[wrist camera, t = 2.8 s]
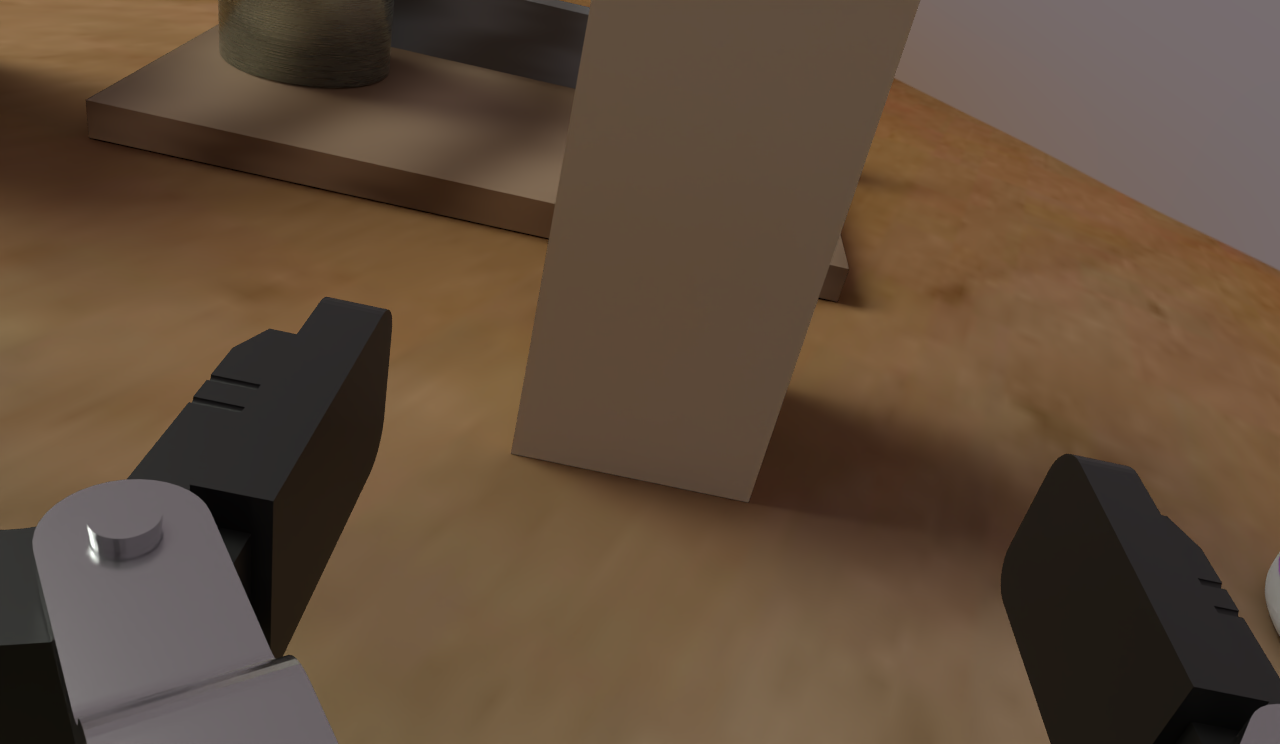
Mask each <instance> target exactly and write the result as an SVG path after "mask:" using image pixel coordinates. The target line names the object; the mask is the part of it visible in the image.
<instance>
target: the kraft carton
mask: <svg viewBox="0 0 1280 744" xmlns="http://www.w3.org/2000/svg"><path fill="white" fill-rule="evenodd" d="M919 3H920V0H591V4H590V10H589V16H588V21H587V27H586V33H585V38H584V44H583V50H582V55H581V61H580V67H579V72H578V78H577V84H576V89H575V95H574V100H573V106H572V112H571V117H570V123H569V129H568V134H567V140H566V146H565V151H564V157H563V163H562V168H561V174H560V179H559V185H558V191H557V196H556V202H555V208H554V213H553V219H552V225H551V230H550V236H549V242H548V247H547V253H546V259H545V264H544V270H543V275H542V281H541V287H540V292H539V298H538V304H537V309H536V315H535V321H534V326H533V332H532V338H531V343H530V349H529V354H528V360H527V366H526V371H525V377H524V383H523V388H522V394H521V400H520V405H519V411H518V417H517V422H516V428H515V434H514V439H513V445H512V450H511V454H516V455H521V456H526V457H530V458H535V459H540V460H545V461H550V462H555V463H559V464H564V465H569V466H574V467H579V468H584V469H589V470H593V471H598V472H603V473H608V474H613V475H618V476H622V477H627V478H632V479H637V480H642V481H647V482H651V483H656V484H661V485H666V486H671V487H676V488H680V489H685V490H690V491H695V492H700V493H705V494H709V495H714V496H719V497H724V498H729V499H734V500H739V501H743V502H749V499H750V496H751V493H752V491H753V488H754V485H755V482H756V479H757V476H758V473H759V470H760V467H761V464H762V461H763V458H764V455H765V453H766V450H767V447H768V444H769V441H770V438H771V435H772V432H773V429H774V426H775V423H776V420H777V417H778V415H779V412H780V409H781V406H782V403H783V400H784V397H785V394H786V391H787V388H788V385H789V382H790V380H791V377H792V374H793V371H794V368H795V365H796V362H797V359H798V356H799V353H800V350H801V347H802V344H803V342H804V339H805V336H806V333H807V330H808V327H809V324H810V321H811V318H812V315H813V312H814V309H815V307H816V304H817V301H818V298H819V295H820V292H821V289H822V286H823V283H824V280H825V277H826V274H827V271H828V269H829V266H830V263H831V260H832V257H833V254H834V251H835V248H836V245H837V242H838V239H839V236H840V234H841V231H842V228H843V225H844V222H845V219H846V216H847V213H848V210H849V207H850V204H851V201H852V198H853V196H854V193H855V190H856V187H857V184H858V181H859V178H860V175H861V172H862V169H863V166H864V163H865V161H866V158H867V155H868V152H869V149H870V146H871V143H872V140H873V137H874V134H875V131H876V128H877V125H878V123H879V120H880V117H881V114H882V111H883V108H884V105H885V102H886V99H887V96H888V93H889V90H890V87H891V85H892V82H893V79H894V76H895V73H896V70H897V67H898V64H899V61H900V58H901V55H902V52H903V50H904V47H905V44H906V41H907V38H908V35H909V32H910V29H911V26H912V23H913V20H914V17H915V14H916V11H917V9H918V6H919Z"/></svg>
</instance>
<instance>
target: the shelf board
mask: <svg viewBox="0 0 1280 744" xmlns="http://www.w3.org/2000/svg"><path fill="white" fill-rule="evenodd" d="M589 10H590V8H589V7H585V6H581V5H576V4H572V3H568V2H564V1H559V0H394V10H393V25H392V39H391V53H390V68H389V73H388V75H387V76H386V77H385V78H384V79H382V80H380V81H378V82H375V83H372V84H368V85H363V86H356V87H343V88H324V87H310V86H300V85H293V84H287V83H282V82H277V81H273V80H268V79H265V78H261V77H258V76H255V75H252V74H249V73H246V72H244V71H242V70H239V69H237V68H235V67H233V66H232V65H230V64H229V63H227V62H226V61H225V60H224V59H223V58H222V57H221V55H220V52H219V24H218V25H216V26H215V27H213V28H211V29H209V30H208V31H206V32H204V33H202V34H201V35H199V36H197V37H195V38H194V39H192V40H190V41H188V42H187V43H185V44H183V45H181V46H179V47H178V48H176V49H174V50H172V51H171V52H169V53H167V54H165V55H164V56H162V57H160V58H158V59H157V60H155V61H153V62H151V63H150V64H148V65H146V66H144V67H143V68H141V69H139V70H137V71H136V72H134V73H132V74H130V75H129V76H127V77H125V78H123V79H122V80H120V81H118V82H116V83H115V84H113V85H111V86H109V87H108V88H106V89H104V90H102V91H101V92H99V93H97V94H95V95H94V96H92V97H90V98H88V99H87V100H86V108H87V121H88V134H89V138H94V139H99V140H103V141H108V142H112V143H117V144H121V145H126V146H130V147H135V148H140V149H144V150H149V151H153V152H158V153H162V154H167V155H171V156H176V157H181V158H185V159H190V160H194V161H199V162H203V163H208V164H212V165H217V166H222V167H226V168H231V169H235V170H240V171H244V172H249V173H253V174H258V175H262V176H267V177H272V178H276V179H281V180H285V181H290V182H294V183H299V184H303V185H308V186H313V187H317V188H322V189H326V190H331V191H335V192H340V193H344V194H349V195H354V196H358V197H363V198H367V199H372V200H376V201H381V202H385V203H390V204H395V205H399V206H404V207H408V208H413V209H417V210H422V211H426V212H431V213H435V214H440V215H445V216H449V217H454V218H458V219H463V220H467V221H472V222H476V223H481V224H486V225H490V226H495V227H499V228H504V229H508V230H513V231H517V232H522V233H527V234H531V235H536V236H540V237H545V238H549V236H550V230H551V225H552V219H553V213H554V208H555V202H556V196H557V191H558V185H559V179H560V174H561V168H562V163H563V157H564V151H565V146H566V140H567V134H568V129H569V123H570V117H571V112H572V106H573V100H574V95H575V89H576V84H577V78H578V72H579V67H580V61H581V55H582V50H583V44H584V38H585V33H586V27H587V21H588V16H589ZM848 271H849V267H848V263H847V259H846V255H845V251H844V247H843V243H842V239H841V235H840V236H839V239H838V242H837V245H836V248H835V251H834V254H833V257H832V260H831V263H830V266H829V269H828V271H827V274H826V277H825V280H824V283H823V286H822V289H821V292H820V295H819V298H823V299H827V300H832V301H836V302H838V299H839V296H840V293H841V290H842V288H843V285H844V282H845V279H846V276H847V274H848Z"/></svg>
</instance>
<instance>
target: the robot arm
mask: <svg viewBox="0 0 1280 744" xmlns="http://www.w3.org/2000/svg"><path fill="white" fill-rule="evenodd" d="M391 333H392V315H391V312H390V310H387V309H382V308H378V307H373V306H368V305H363V304H359V303H354V302H349V301H344V300H339V299H335V298H330V297H325V298H323V299H322V300H321V301H320V303H319V304H318V305H317V307H316V308H315V310H314V311H313V312H312V314H311V315H310V317H309V318H308V319H307V321H306V322H305V324H304V325H303V326H302V328H301V329H300V331H299V332H298V333H297V334H292V333H288V332H283V331H278V330H273V329H268V330H266V331H264V332H262V333H260V334H258V335H257V336H255V337H253V338H251V339H249V340H247V341H245V342H243V343H241V344H239V345H237V346H235V347H233V348H232V349H231V351H230V352H229V353H228V354H227V356H226V357H225V358H224V359H223V360H222V362H221V363H220V364H219V365H218V367H217V368H216V369H215V370H214V372H213V373H212V374H211V379H210V380H206V382H205V383H204V384H203V385H202V387H201V388H200V389H199V390H198V392H197V393H196V394H195V395H194V397H193V401H192V403H190V402H189V403H188V404H187V405H186V406H185V408H184V409H183V410H182V411H181V413H180V414H179V415H178V416H177V418H176V419H175V420H174V421H173V423H172V424H171V425H170V426H169V428H168V429H167V430H166V431H165V433H164V434H163V435H162V436H161V438H160V439H159V440H158V441H157V442H156V444H155V445H154V446H153V447H152V449H151V450H150V451H149V452H148V454H147V455H146V456H145V457H144V459H143V460H142V461H141V462H140V464H139V465H138V466H137V467H136V469H135V470H134V471H133V472H132V474H131V475H130V476H129V477H128V479H127V480H119V481H112V482H106V483H102V484H98V485H94V486H91V487H89V488H86V489H83V490H80V491H78V492H76V493H74V494H72V495H70V496H68V497H66V498H65V499H63V500H62V501H60V502H59V503H57V504H56V505H55V506H53V507H52V508H51V509H50V510H49V511H48V512H47V513H46V514H45V515H44V516H43V518H42V519H41V520H40V521H39V523H38V525H37V527H31V528H24V529H11V530H0V744H338V742H337V740H336V737H335V735H334V733H333V731H332V729H331V726H330V724H329V722H328V720H327V718H326V716H325V713H324V711H323V709H322V707H321V705H320V702H319V700H318V698H317V696H316V694H315V691H314V689H313V687H312V685H311V683H310V680H309V678H308V676H307V674H306V672H305V670H304V669H303V667H302V666H301V664H300V663H299V661H298V660H297V659H296V658H295V657H294V656H292V655H287V656H284V657H283V655H284V653H285V650H286V648H287V646H288V644H289V642H290V640H291V638H292V636H293V634H294V632H295V630H296V627H297V625H298V623H299V621H300V619H301V617H302V615H303V613H304V611H305V609H306V606H307V604H308V602H309V600H310V598H311V596H312V594H313V592H314V590H315V588H316V585H317V583H318V581H319V579H320V577H321V575H322V573H323V571H324V569H325V567H326V564H327V562H328V560H329V558H330V556H331V554H332V552H333V550H334V548H335V546H336V543H337V541H338V539H339V537H340V535H341V533H342V531H343V529H344V527H345V525H346V522H347V520H348V518H349V516H350V514H351V512H352V510H353V508H354V506H355V504H356V502H357V499H358V497H359V495H360V493H361V491H362V489H363V487H364V485H365V483H366V481H367V478H368V476H369V474H370V472H371V470H372V467H373V464H374V461H375V458H376V455H377V452H378V448H379V444H380V439H381V434H382V429H383V422H384V412H385V401H386V390H387V378H388V367H389V356H390V345H391ZM1221 584H1222V582H1221V581H1220V579H1219V577H1218V576H1217V574H1216V572H1215V571H1214V569H1213V567H1212V566H1211V564H1210V562H1209V561H1208V559H1207V557H1206V556H1205V554H1204V552H1203V551H1202V549H1201V548H1200V547H1199V546H1198V545H1197V544H1195V543H1194V542H1193V541H1192V540H1191V539H1190V538H1189V537H1188V536H1187V535H1186V534H1185V533H1184V532H1183V531H1182V530H1181V529H1180V528H1179V527H1178V526H1177V525H1175V524H1174V523H1173V522H1172V521H1171V520H1170V519H1169V518H1168V517H1167V516H1163V515H1161V514H1160V512H1159V510H1158V509H1157V507H1156V505H1155V504H1154V502H1153V500H1152V498H1151V497H1150V495H1149V493H1148V492H1147V490H1146V488H1145V486H1144V485H1143V483H1142V481H1141V479H1140V478H1139V476H1138V474H1137V473H1136V472H1135V470H1133V469H1132V468H1131V467H1128V466H1125V465H1120V464H1115V463H1110V462H1105V461H1101V460H1096V459H1091V458H1086V457H1082V456H1077V455H1072V454H1065V455H1062V456H1061V457H1059V458H1058V459H1057V460H1056V461H1055V462H1054V464H1053V465H1052V466H1051V468H1050V470H1049V471H1048V473H1047V475H1046V477H1045V479H1044V481H1043V483H1042V485H1041V487H1040V489H1039V491H1038V493H1037V494H1036V496H1035V498H1034V500H1033V502H1032V504H1031V506H1030V508H1029V510H1028V512H1027V514H1026V515H1025V517H1024V519H1023V521H1022V523H1021V525H1020V527H1019V529H1018V531H1017V533H1016V535H1015V537H1014V538H1013V540H1012V542H1011V544H1010V546H1009V548H1008V550H1007V553H1006V556H1005V559H1004V563H1003V567H1002V574H1001V594H1002V599H1003V603H1004V606H1005V609H1006V612H1007V615H1008V618H1009V621H1010V624H1011V627H1012V630H1013V633H1014V636H1015V639H1016V642H1017V645H1018V648H1019V651H1020V654H1021V657H1022V660H1023V663H1024V666H1025V669H1026V672H1027V675H1028V677H1029V680H1030V683H1031V686H1032V689H1033V692H1034V695H1035V698H1036V701H1037V704H1038V707H1039V710H1040V713H1041V716H1042V719H1043V722H1044V725H1045V728H1046V731H1047V734H1048V737H1049V740H1050V743H1051V744H1280V678H1279V676H1278V675H1277V673H1276V671H1275V670H1274V668H1273V666H1272V665H1271V663H1270V661H1269V660H1268V658H1267V656H1266V655H1265V653H1264V652H1263V650H1262V648H1261V647H1260V645H1259V643H1258V642H1257V640H1256V638H1255V637H1254V635H1253V633H1252V632H1251V630H1250V628H1249V627H1248V625H1247V623H1246V622H1245V620H1244V619H1243V618H1241V617H1238V612H1239V610H1238V609H1237V607H1236V605H1235V604H1234V602H1233V600H1232V599H1231V597H1230V595H1229V594H1228V592H1227V590H1225V589H1221Z"/></svg>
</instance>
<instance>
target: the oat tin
mask: <svg viewBox="0 0 1280 744" xmlns="http://www.w3.org/2000/svg"><path fill="white" fill-rule="evenodd" d="M218 9H219V52H220V55H221V57H222V58H223V59H224V60H225V61H226V62H227V63H229V64H230V65H232V66H233V67H235V68H237V69H239V70H242V71H244V72H246V73H249V74H252V75H255V76H258V77H261V78H265V79H268V80H273V81H277V82H282V83H287V84H293V85H300V86H310V87H324V88H343V87H356V86H363V85H368V84H372V83H375V82H378V81H380V80H382V79H384V78H385V77H386V76H387V75H388V73H389V68H390V53H391V39H392V25H393V10H394V0H218Z"/></svg>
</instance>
